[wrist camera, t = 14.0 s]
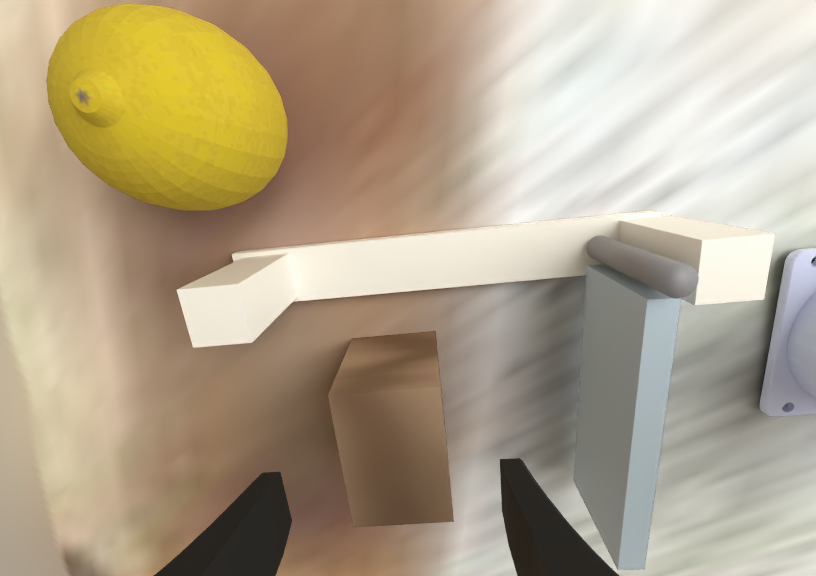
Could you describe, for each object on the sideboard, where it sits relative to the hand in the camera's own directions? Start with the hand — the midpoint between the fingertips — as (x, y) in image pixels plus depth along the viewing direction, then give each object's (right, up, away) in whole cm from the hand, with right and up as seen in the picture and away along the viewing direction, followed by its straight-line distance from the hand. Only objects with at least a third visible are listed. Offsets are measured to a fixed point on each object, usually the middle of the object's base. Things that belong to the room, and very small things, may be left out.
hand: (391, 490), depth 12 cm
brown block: (0, +2, +7) cm, 7 cm away
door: (+9, +3, +5) cm, 11 cm away
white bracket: (+2, +8, +5) cm, 9 cm away
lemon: (-6, +13, +4) cm, 15 cm away
